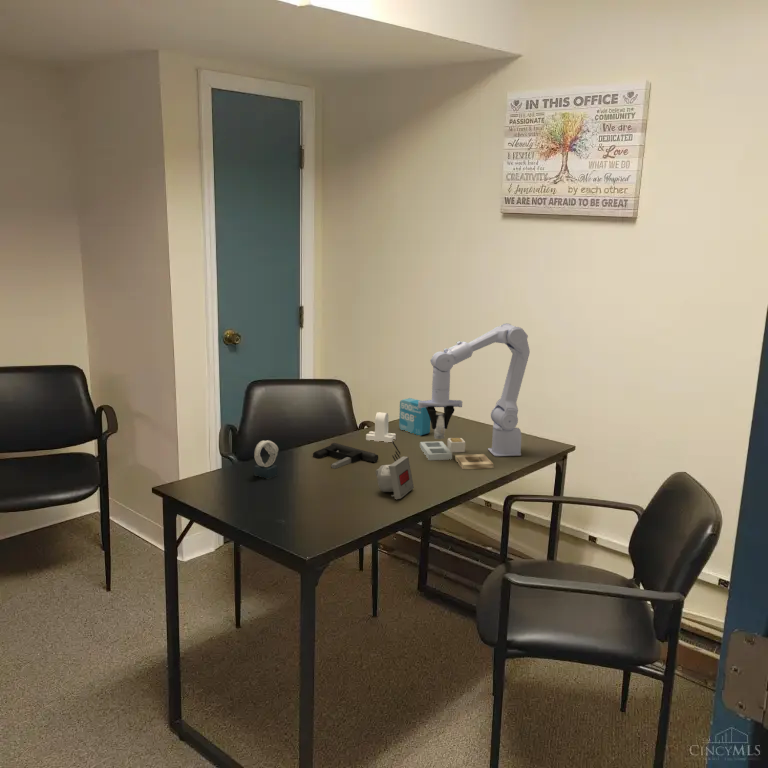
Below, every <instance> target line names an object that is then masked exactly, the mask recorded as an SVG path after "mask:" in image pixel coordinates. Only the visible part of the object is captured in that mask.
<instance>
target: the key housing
mask: <svg viewBox="0 0 768 768" xmlns="http://www.w3.org/2000/svg"><path fill="white" fill-rule="evenodd" d="M451 438H452V437H448V438H447V442H446V443H447V445H446V447H447V448H448V449H449V450H450V451H451V453H465V452H466V441H465V440H464V439H463V438H462V437H459V438H460V439H461V440H462V442H452V441H451Z"/></svg>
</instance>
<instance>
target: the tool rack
mask: <svg viewBox="0 0 768 768" xmlns="http://www.w3.org/2000/svg"><path fill="white" fill-rule="evenodd" d="M419 448H421V449H420V450H421V451H422V453H423V452H424V453H423V454H424V455H426V456H425V457H426V458H428V459H427V460H428V461H442V460H443V461H448V460H449V459H450V460H451V459H452V460H453V452H451V451H450V450H449V449H448V448H447V445H446V444H445V443H444V441H442V440H440V441H420V442H419Z"/></svg>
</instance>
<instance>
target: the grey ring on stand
mask: <svg viewBox="0 0 768 768" xmlns="http://www.w3.org/2000/svg"><path fill="white" fill-rule="evenodd" d="M263 448H264V450H265V451H266V452H267V453H268V455H269V457H268V459H267V461H266V462H264V461H263V459H262V456H261V451H262V449H263ZM278 453H279V447H278V445H277V444H276V443H275V442H273V441H272V440H269V439H268V440H260V441H259V442H258V443H257V444H256V446H255V448H254V454H253V455H254V456H253V457H254V460H255V462H256V464H257V465H256V464H255V465H254V466H253V475H254V474H256V475H258V476H261V477H265V478H270V477H273V476H275V475H277V476H278V466H277V465H275V464H274V463H275V461H276V459H277V456H278ZM275 477H276V476H275ZM273 478H274V477H273ZM270 479H271V478H270Z"/></svg>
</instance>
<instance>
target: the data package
mask: <svg viewBox="0 0 768 768" xmlns="http://www.w3.org/2000/svg"><path fill="white" fill-rule="evenodd" d="M418 401H421V400H419V399H415V398H410V397H409V398H405V399H401V400H400V401H399V416H398V417H399V418H398V419H399V420H398V421H399V422H398V424H399V426H398V427H399V430H400V431H402V430H405V431H408V432H410V433H409V434H412V433H414V434H413V435H415V434H416V435H415V436H418V435H420V436H419V437H421V436H425V435H427V434H428V435H429V434H430V432H431V420H430V417H429V414H428V411H427V409H426V407H425V408H419V407H418ZM405 431H404V432H405ZM408 432H407V433H408Z"/></svg>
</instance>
